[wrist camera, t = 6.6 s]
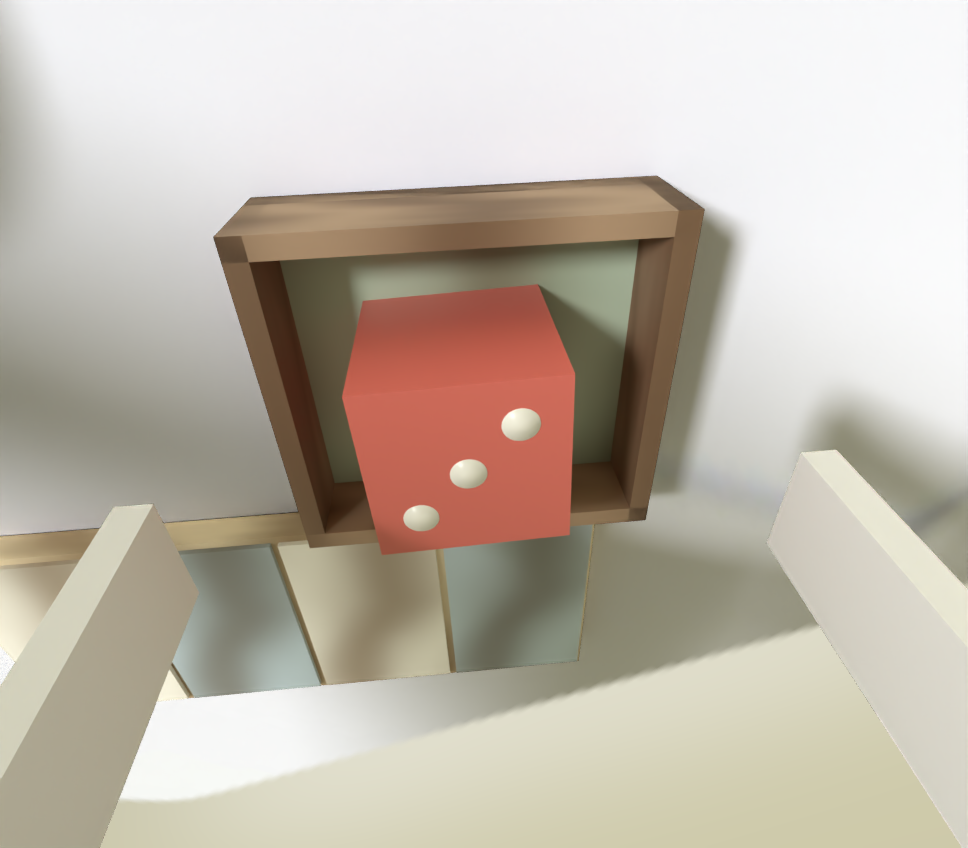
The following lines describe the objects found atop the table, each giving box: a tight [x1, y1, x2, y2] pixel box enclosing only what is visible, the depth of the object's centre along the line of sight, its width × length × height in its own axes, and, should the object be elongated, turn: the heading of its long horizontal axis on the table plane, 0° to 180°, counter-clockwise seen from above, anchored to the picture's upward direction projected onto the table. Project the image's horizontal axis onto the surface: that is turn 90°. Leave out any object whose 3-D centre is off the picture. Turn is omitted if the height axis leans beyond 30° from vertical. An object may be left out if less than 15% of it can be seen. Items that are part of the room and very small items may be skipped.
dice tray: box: [213, 176, 705, 548], centre depth 17 cm, size 11×10×3 cm
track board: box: [0, 512, 595, 701], centre depth 24 cm, size 24×10×1 cm, turn 92°
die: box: [342, 284, 575, 555], centre depth 16 cm, size 5×5×5 cm
